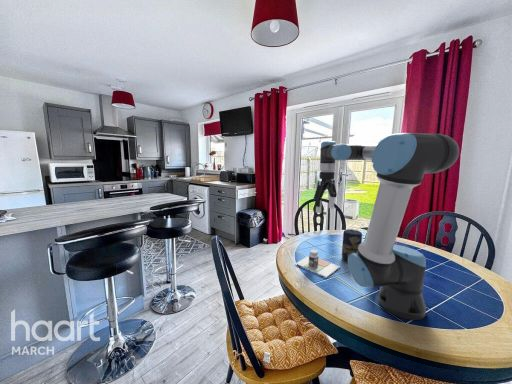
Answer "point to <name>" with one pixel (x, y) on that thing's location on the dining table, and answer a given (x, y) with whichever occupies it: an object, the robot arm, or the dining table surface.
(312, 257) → the pill bottle
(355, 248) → the canister
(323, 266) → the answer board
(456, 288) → the dining table surface
